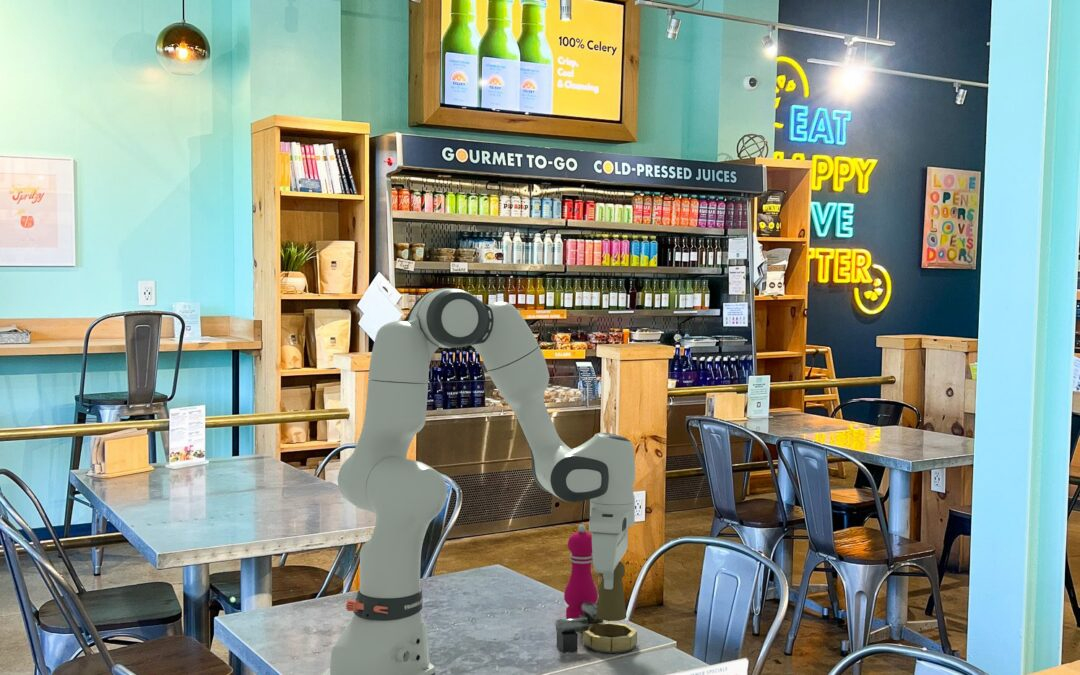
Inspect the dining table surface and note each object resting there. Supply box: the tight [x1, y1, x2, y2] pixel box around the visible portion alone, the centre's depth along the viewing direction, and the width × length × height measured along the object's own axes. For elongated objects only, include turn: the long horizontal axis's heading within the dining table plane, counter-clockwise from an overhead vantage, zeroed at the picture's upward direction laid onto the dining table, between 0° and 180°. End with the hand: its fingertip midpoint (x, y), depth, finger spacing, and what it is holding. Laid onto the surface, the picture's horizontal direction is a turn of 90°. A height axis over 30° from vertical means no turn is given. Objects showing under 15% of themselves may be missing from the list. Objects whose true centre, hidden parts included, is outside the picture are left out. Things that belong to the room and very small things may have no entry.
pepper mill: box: [563, 524, 599, 619], centre depth 226 cm, size 7×7×20 cm
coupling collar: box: [582, 621, 638, 655], centre depth 208 cm, size 10×10×3 cm
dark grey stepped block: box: [555, 617, 589, 654], centre depth 206 cm, size 6×4×6 cm, turn 107°
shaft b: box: [579, 601, 604, 634], centre depth 215 cm, size 6×4×6 cm, turn 22°
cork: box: [596, 561, 627, 622], centre depth 208 cm, size 6×6×11 cm
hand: (611, 584), depth 208 cm, fingers closed on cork, 4 cm apart
